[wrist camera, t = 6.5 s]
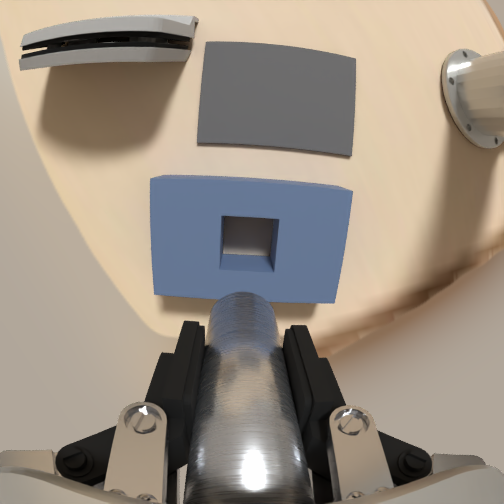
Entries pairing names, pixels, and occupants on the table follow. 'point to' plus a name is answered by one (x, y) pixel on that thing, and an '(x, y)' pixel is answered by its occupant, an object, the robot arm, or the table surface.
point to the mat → (277, 97)
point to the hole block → (247, 266)
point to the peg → (245, 413)
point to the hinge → (90, 31)
